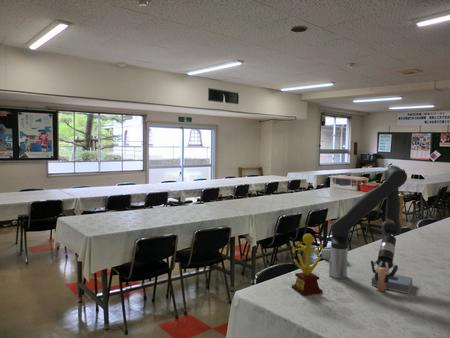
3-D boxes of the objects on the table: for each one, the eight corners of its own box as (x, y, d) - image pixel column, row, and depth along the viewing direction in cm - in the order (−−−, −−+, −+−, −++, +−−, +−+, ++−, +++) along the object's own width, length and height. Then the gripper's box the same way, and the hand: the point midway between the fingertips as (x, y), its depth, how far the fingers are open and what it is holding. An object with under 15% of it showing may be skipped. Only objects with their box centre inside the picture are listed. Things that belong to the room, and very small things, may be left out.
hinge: (348, 262, 233) (346, 249, 230) (345, 265, 229) (343, 252, 226) (325, 256, 244) (323, 244, 241) (321, 260, 241) (319, 247, 238)
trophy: (288, 293, 180) (289, 235, 178) (295, 283, 194) (296, 229, 192) (317, 298, 174) (318, 238, 172) (322, 287, 188) (323, 232, 187)
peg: (376, 291, 184) (377, 268, 183) (378, 288, 187) (379, 266, 187) (384, 293, 182) (385, 270, 181) (386, 290, 185) (387, 268, 184)
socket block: (371, 285, 192) (371, 278, 192) (377, 277, 204) (377, 271, 203) (408, 293, 182) (408, 285, 182) (412, 285, 193) (412, 277, 193)
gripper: (371, 246, 194) (365, 274, 184) (400, 251, 186) (395, 280, 176) (373, 254, 198) (367, 281, 189) (401, 258, 190) (396, 287, 181)
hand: (381, 281), depth 183 cm, fingers closed on peg, 4 cm apart
